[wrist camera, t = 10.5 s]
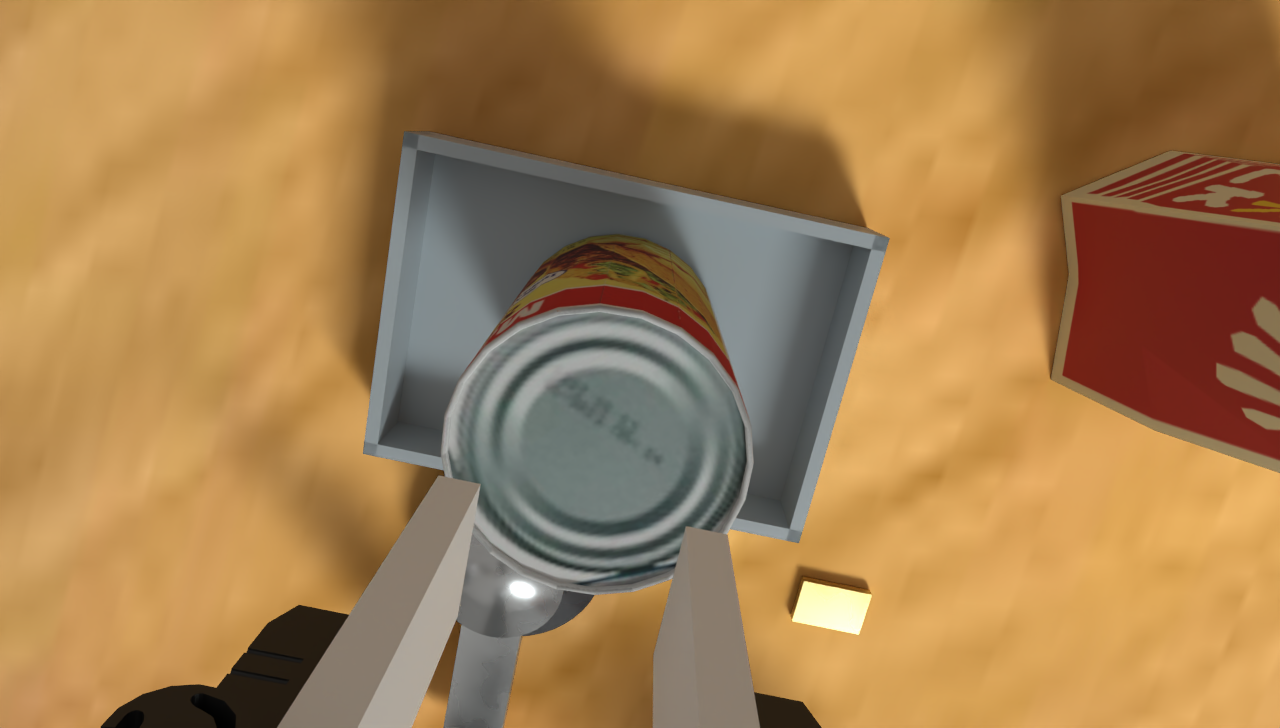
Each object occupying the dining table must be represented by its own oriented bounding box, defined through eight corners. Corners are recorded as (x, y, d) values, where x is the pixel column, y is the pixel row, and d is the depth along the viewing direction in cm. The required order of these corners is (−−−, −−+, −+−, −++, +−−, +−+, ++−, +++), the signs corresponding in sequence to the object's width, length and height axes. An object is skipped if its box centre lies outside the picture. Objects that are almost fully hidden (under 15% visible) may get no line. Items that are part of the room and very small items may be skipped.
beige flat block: (790, 615, 36) (792, 621, 36) (802, 576, 35) (804, 581, 35) (856, 629, 36) (858, 634, 36) (869, 590, 36) (871, 594, 35)
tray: (388, 425, 34) (362, 453, 31) (429, 131, 31) (404, 131, 28) (786, 507, 35) (798, 543, 32) (867, 228, 31) (889, 238, 28)
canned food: (508, 234, 31) (426, 307, 19) (718, 232, 31) (758, 304, 19) (520, 428, 33) (452, 597, 22) (714, 427, 33) (749, 595, 22)
